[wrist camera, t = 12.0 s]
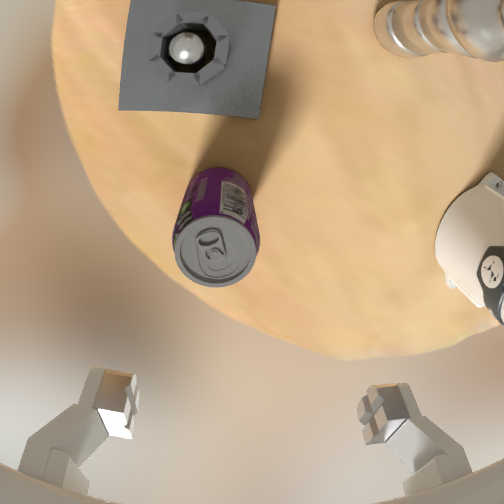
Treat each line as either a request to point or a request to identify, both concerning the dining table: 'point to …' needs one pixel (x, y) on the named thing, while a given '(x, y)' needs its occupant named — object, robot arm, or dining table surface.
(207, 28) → the octagonal nut
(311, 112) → the dining table surface
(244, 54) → the post stand
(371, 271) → the dining table surface
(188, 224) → the beverage can
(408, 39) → the plastic bottle
